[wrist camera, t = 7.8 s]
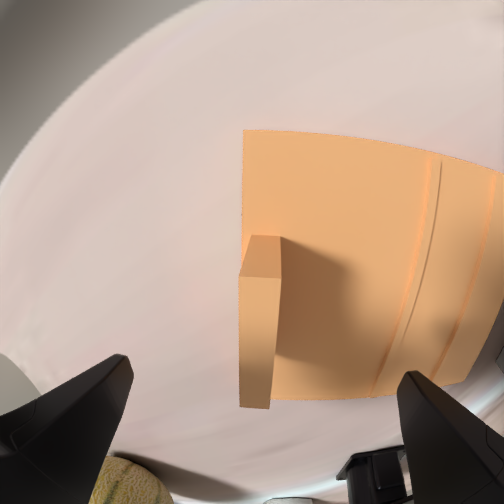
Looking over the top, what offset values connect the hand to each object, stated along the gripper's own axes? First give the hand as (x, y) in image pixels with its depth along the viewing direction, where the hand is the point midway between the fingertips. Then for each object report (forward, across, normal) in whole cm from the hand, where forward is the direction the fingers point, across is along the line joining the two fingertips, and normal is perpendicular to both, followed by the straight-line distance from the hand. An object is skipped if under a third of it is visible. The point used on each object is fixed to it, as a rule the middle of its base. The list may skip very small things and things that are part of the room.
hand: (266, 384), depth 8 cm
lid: (+6, -7, 0) cm, 9 cm away
